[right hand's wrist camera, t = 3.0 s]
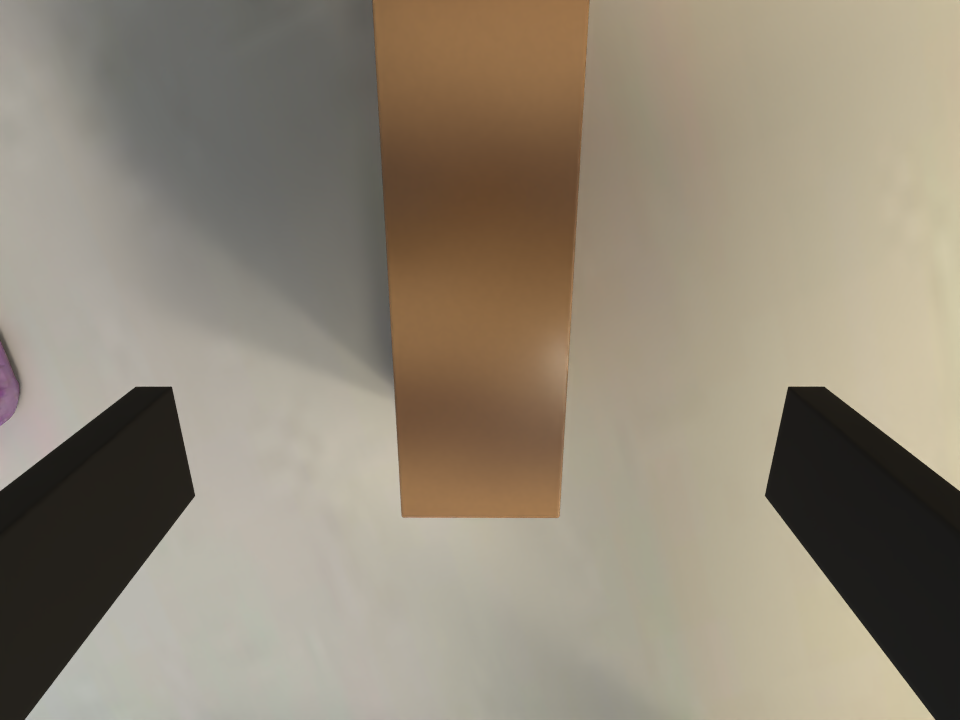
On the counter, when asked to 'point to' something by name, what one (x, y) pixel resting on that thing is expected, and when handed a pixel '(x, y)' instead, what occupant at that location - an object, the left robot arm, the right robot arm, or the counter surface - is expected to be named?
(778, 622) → the counter surface
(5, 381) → the figurine
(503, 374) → the beam
